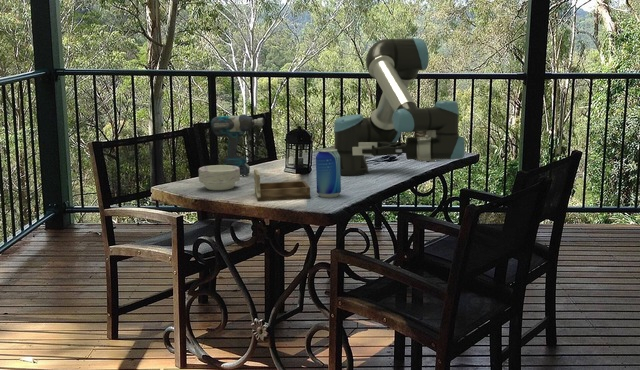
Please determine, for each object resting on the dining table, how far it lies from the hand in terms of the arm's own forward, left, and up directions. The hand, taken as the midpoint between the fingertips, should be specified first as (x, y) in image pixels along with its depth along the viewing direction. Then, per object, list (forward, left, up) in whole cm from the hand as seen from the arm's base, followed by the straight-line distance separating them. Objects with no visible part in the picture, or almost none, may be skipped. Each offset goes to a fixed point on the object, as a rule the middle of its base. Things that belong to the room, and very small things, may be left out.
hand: (355, 148), depth 269 cm
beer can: (+9, -3, -17) cm, 19 cm away
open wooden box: (+25, -7, -16) cm, 31 cm away
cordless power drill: (+37, -57, -17) cm, 70 cm away
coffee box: (-46, -73, -17) cm, 88 cm away
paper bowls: (+46, -29, -17) cm, 57 cm away
